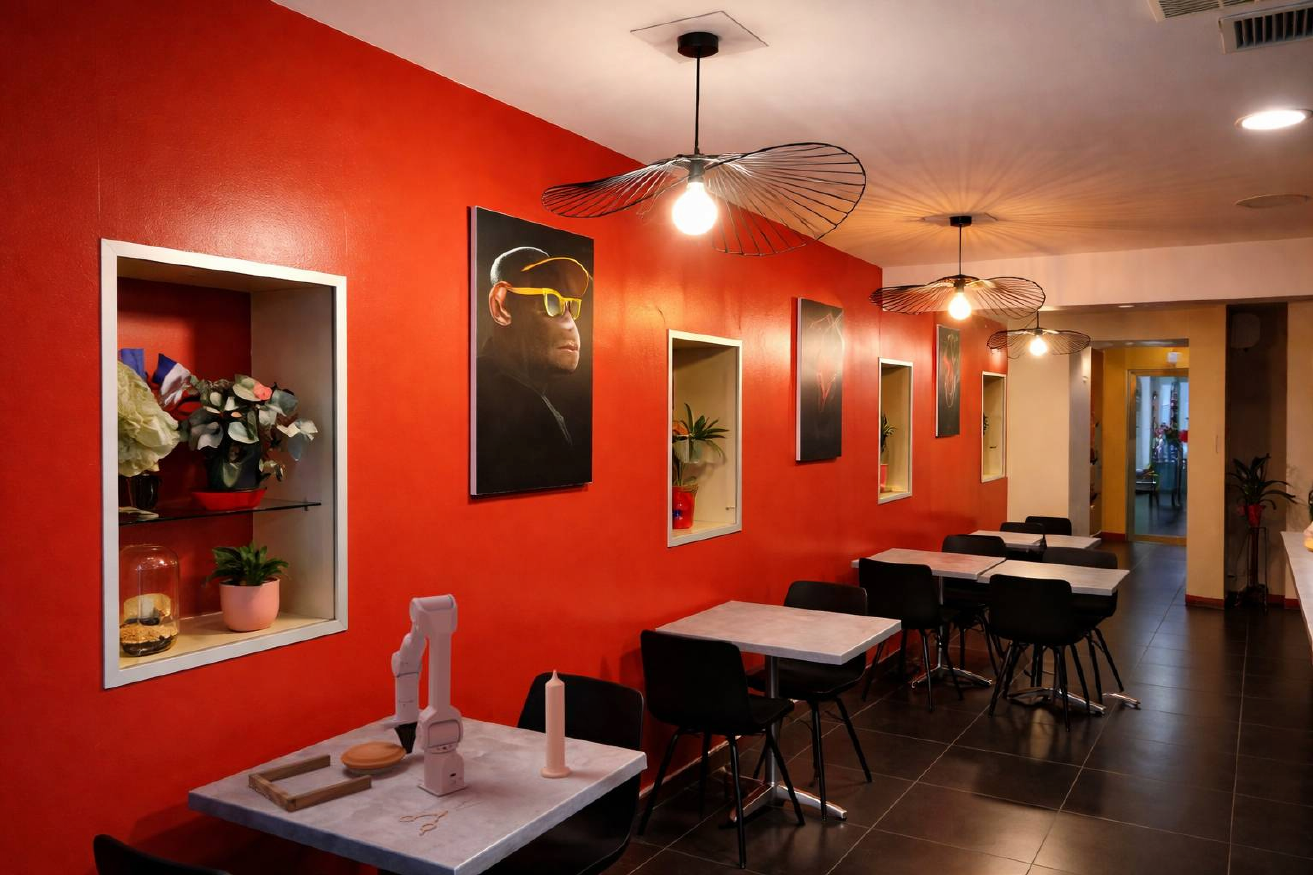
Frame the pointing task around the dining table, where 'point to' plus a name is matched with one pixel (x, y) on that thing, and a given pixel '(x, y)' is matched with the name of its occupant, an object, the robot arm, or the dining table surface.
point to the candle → (555, 730)
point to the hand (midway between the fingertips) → (407, 752)
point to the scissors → (429, 815)
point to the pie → (373, 758)
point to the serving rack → (310, 798)
